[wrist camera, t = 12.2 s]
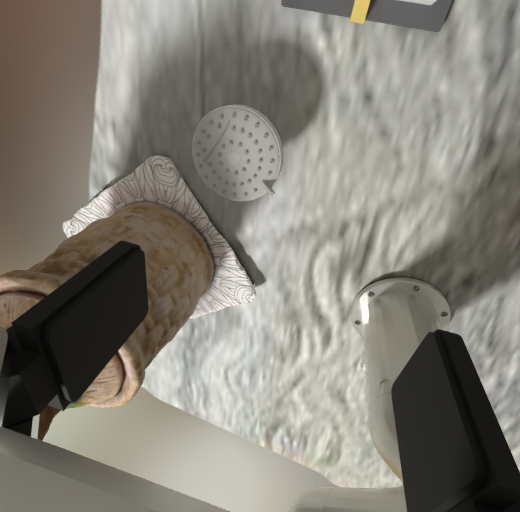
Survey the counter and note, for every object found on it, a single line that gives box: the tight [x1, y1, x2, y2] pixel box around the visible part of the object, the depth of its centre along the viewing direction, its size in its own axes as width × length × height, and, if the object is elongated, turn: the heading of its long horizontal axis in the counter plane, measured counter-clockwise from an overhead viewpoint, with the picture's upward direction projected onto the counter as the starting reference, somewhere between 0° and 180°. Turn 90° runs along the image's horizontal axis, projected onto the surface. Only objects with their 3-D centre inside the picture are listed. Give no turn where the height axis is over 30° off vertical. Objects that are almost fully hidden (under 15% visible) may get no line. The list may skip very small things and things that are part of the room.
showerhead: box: [192, 104, 283, 202], centre depth 32 cm, size 9×7×10 cm
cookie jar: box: [0, 155, 256, 441], centre depth 34 cm, size 25×25×32 cm
